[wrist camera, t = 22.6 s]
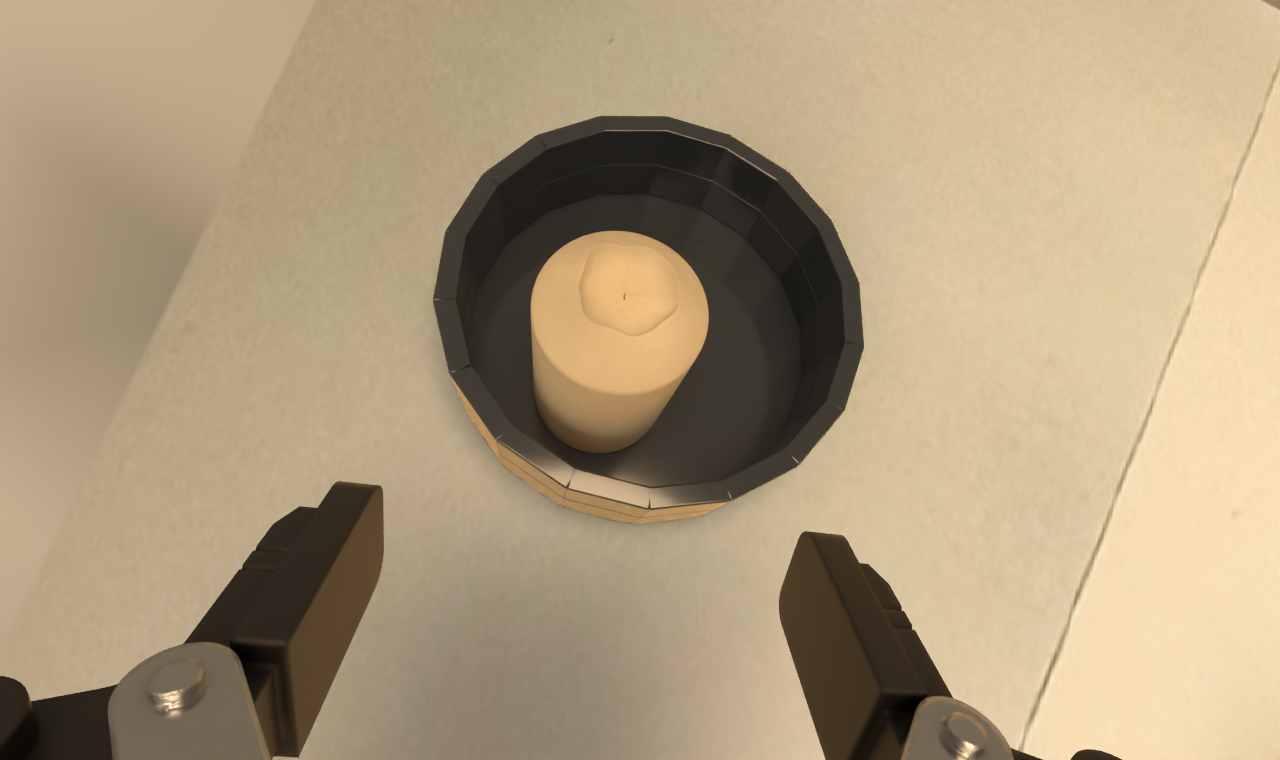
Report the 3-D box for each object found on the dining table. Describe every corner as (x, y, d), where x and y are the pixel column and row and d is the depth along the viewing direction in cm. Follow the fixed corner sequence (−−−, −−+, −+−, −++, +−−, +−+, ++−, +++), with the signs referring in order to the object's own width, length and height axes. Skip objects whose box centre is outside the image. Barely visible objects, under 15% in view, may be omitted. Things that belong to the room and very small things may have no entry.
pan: (601, 610, 25) (615, 613, 20) (380, 289, 28) (347, 226, 23) (881, 386, 30) (944, 347, 25) (669, 136, 33) (690, 59, 28)
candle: (578, 480, 26) (599, 414, 16) (509, 373, 27) (492, 253, 17) (684, 412, 27) (758, 317, 18) (616, 313, 28) (652, 175, 19)
